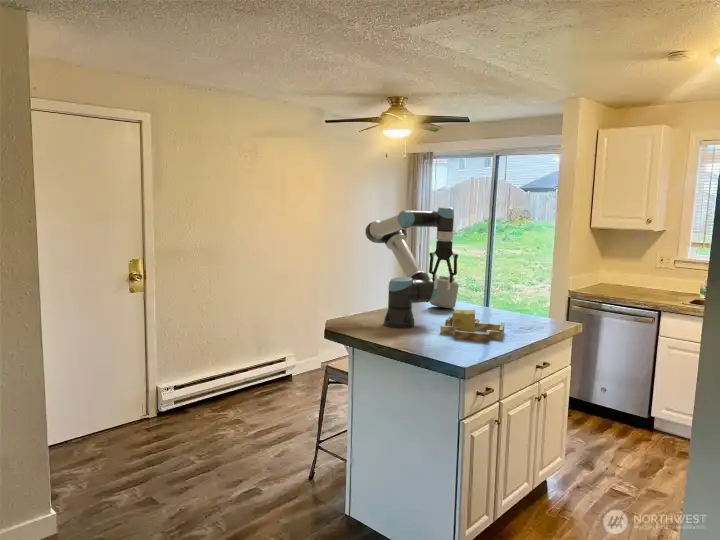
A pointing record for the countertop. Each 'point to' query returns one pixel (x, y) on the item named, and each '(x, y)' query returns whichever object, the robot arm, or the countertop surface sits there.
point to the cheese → (464, 320)
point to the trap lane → (491, 332)
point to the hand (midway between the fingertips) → (442, 288)
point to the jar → (446, 293)
